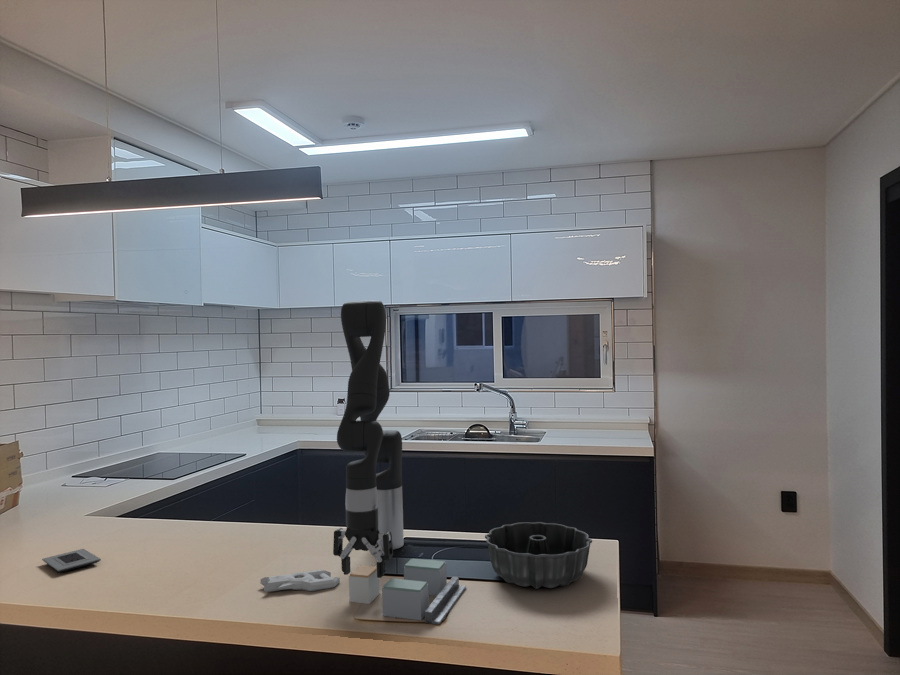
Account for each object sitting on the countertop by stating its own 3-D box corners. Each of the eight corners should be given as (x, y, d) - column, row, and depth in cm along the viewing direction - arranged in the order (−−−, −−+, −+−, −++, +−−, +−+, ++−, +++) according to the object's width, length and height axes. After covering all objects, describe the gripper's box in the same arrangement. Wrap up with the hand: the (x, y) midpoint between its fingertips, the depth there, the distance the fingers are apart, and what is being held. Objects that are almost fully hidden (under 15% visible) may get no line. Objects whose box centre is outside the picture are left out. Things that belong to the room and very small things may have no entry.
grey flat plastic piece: (266, 586, 157) (259, 572, 166) (266, 601, 157) (259, 586, 166) (342, 576, 165) (332, 563, 174) (342, 590, 165) (331, 577, 174)
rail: (453, 586, 163) (452, 576, 163) (465, 588, 162) (465, 577, 162) (425, 623, 144) (424, 611, 144) (439, 624, 143) (439, 613, 143)
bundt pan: (567, 553, 184) (567, 517, 184) (611, 590, 158) (610, 548, 158) (474, 563, 179) (473, 525, 178) (503, 603, 153) (502, 560, 153)
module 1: (360, 591, 161) (359, 564, 161) (379, 593, 160) (379, 566, 160) (349, 601, 156) (348, 574, 156) (369, 604, 154) (368, 576, 154)
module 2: (411, 584, 165) (411, 558, 165) (446, 587, 162) (446, 561, 162) (404, 592, 160) (403, 565, 160) (440, 596, 157) (439, 568, 157)
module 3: (391, 606, 153) (390, 577, 152) (428, 610, 150) (428, 581, 150) (382, 615, 148) (381, 586, 148) (421, 620, 145) (420, 590, 145)
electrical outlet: (42, 566, 185) (42, 557, 185) (83, 555, 193) (83, 547, 193) (58, 578, 176) (58, 569, 176) (101, 566, 184) (100, 557, 184)
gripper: (396, 503, 159) (397, 572, 159) (341, 500, 163) (343, 567, 163) (383, 512, 151) (385, 584, 152) (326, 508, 156) (328, 578, 156)
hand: (363, 575), depth 157 cm, fingers open, 8 cm apart
